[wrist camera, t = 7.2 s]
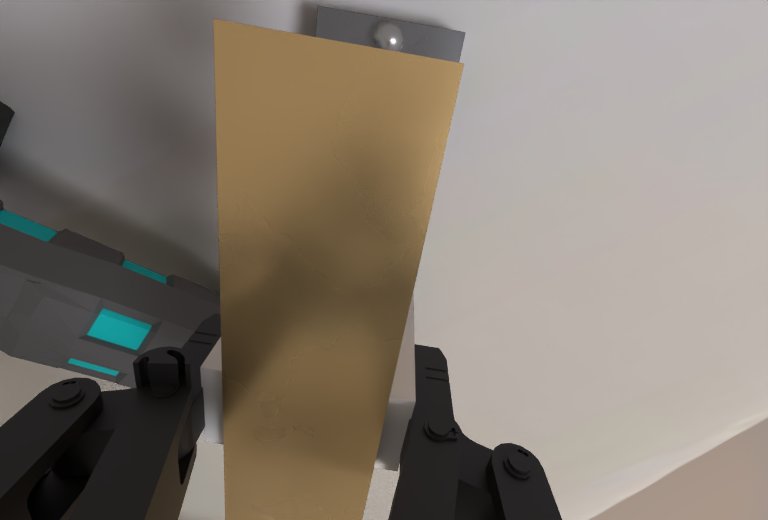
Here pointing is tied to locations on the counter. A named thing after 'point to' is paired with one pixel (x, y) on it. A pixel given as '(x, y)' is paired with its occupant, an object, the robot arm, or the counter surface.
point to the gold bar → (317, 256)
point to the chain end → (389, 34)
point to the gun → (87, 300)
